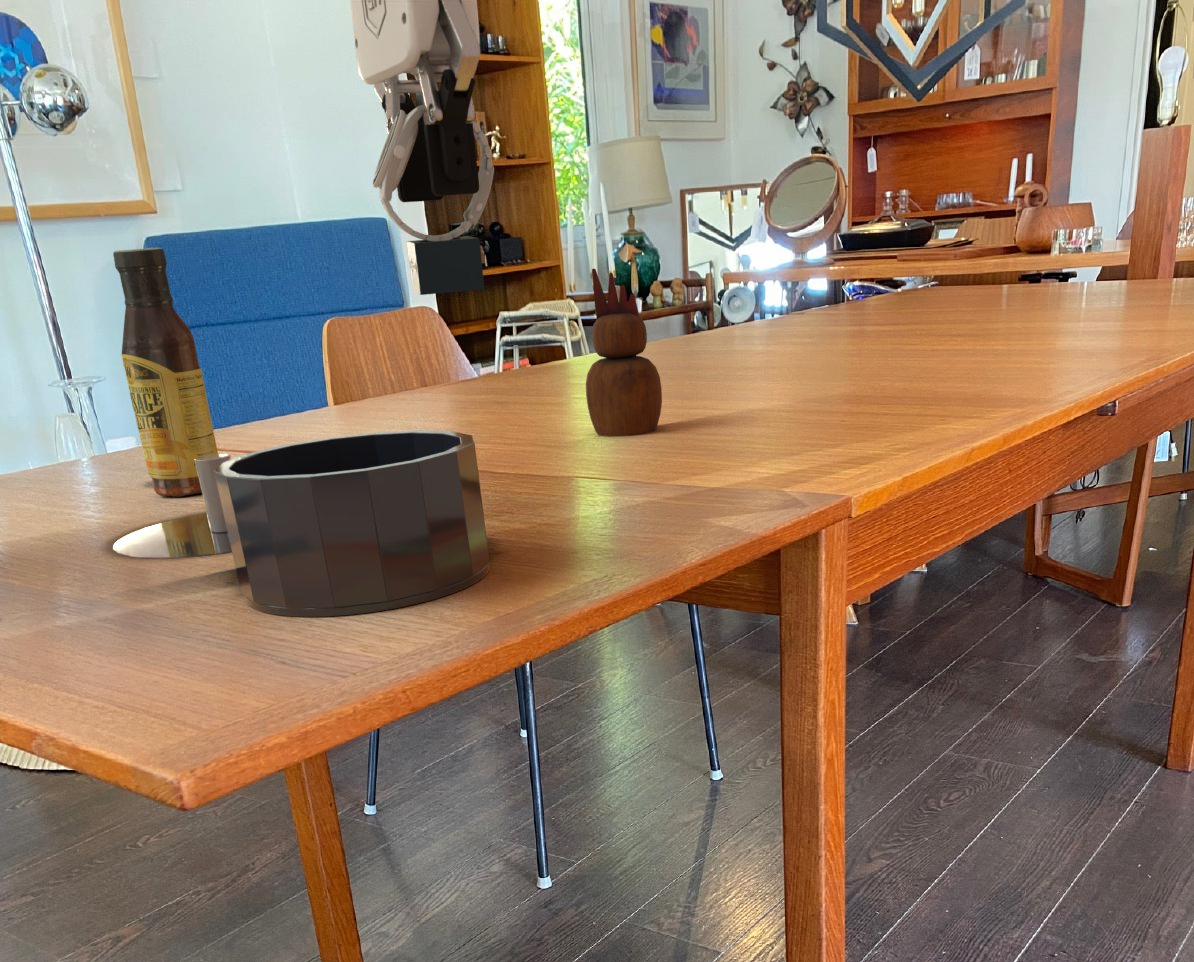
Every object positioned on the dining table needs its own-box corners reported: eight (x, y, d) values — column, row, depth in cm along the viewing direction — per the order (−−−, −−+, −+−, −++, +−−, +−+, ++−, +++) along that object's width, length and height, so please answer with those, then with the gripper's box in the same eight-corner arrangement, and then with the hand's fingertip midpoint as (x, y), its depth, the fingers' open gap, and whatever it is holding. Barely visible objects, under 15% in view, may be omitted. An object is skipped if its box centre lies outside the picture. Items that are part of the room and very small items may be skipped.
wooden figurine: (579, 448, 108) (563, 271, 102) (613, 437, 112) (600, 267, 106) (641, 449, 104) (629, 266, 98) (674, 437, 109) (664, 261, 102)
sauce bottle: (143, 495, 105) (82, 253, 97) (207, 482, 109) (155, 248, 100) (172, 502, 101) (111, 249, 92) (239, 488, 104) (186, 243, 96)
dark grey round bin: (285, 634, 61) (255, 490, 58) (219, 582, 73) (190, 459, 70) (531, 577, 67) (516, 444, 64) (433, 538, 79) (416, 423, 76)
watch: (385, 292, 82) (360, 112, 77) (497, 282, 84) (480, 104, 78) (391, 297, 77) (365, 105, 72) (510, 287, 79) (492, 98, 74)
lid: (139, 588, 73) (114, 490, 71) (100, 547, 86) (77, 463, 83) (373, 540, 80) (357, 449, 77) (305, 509, 92) (289, 430, 90)
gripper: (295, -104, 75) (342, 209, 83) (392, -194, 62) (438, 190, 70) (402, -97, 79) (438, 203, 86) (517, -181, 65) (547, 184, 73)
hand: (438, 194), depth 78 cm, fingers closed on watch, 4 cm apart
